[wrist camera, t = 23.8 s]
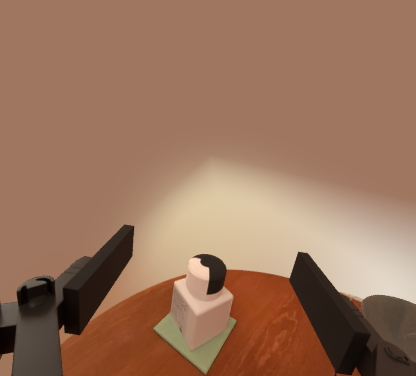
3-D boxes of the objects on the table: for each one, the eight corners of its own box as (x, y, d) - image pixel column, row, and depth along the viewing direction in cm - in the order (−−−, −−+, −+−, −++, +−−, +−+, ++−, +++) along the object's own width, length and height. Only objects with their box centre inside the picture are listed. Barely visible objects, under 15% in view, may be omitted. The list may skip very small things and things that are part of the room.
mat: (153, 330, 35) (153, 328, 35) (191, 293, 44) (191, 291, 44) (205, 375, 29) (206, 373, 29) (236, 322, 39) (236, 320, 38)
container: (202, 299, 42) (212, 245, 39) (226, 330, 36) (240, 269, 33) (169, 315, 37) (176, 255, 34) (190, 353, 32) (202, 285, 28)
